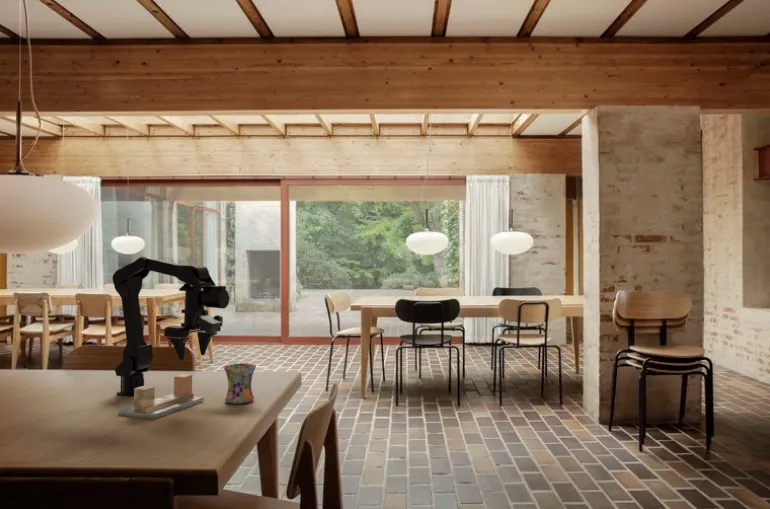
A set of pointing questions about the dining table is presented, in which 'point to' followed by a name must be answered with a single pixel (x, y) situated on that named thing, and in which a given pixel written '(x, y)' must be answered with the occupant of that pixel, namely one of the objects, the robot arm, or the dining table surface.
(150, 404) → the bar
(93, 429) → the dining table surface
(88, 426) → the dining table surface
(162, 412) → the flange plate
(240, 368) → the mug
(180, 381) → the slide leg
